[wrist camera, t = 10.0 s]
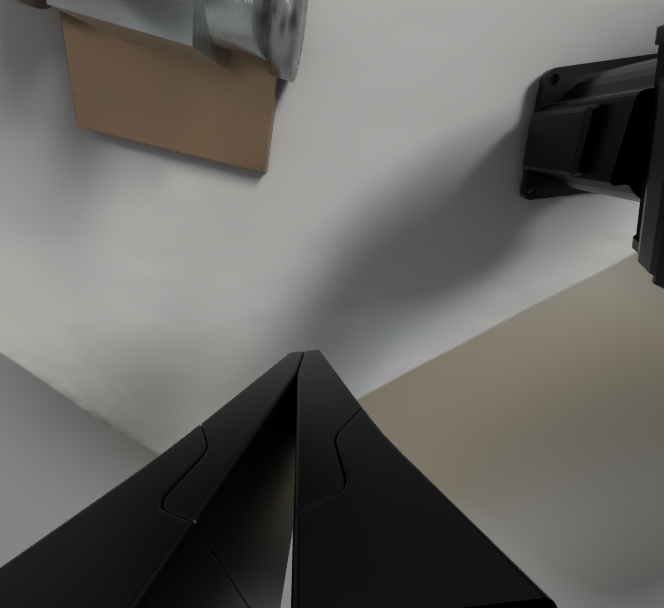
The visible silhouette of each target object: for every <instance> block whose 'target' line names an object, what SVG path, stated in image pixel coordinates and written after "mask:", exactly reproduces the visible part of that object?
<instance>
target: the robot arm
mask: <svg viewBox="0 0 664 608" xmlns="http://www.w3.org/2000/svg"><path fill="white" fill-rule="evenodd" d="M655 45H659V48H658V53H657V54H650V55H643V56H636V57H629V58H622V59H615V60H607V61H600V62H593V63H586V64H579V65H572V66H565V67H558V68H554V69H551V70H548V71H546V72H545V73H544V74H543V76H542V77H541V79H540V82H539V88H538V94H537V99H536V105H535V111H534V115H533V116H532V118H531V121H530V127H529V133H528V138H527V144H526V150H525V156H524V162H523V166H524V173H523V178H522V184H521V190H520V195H521V197H523V198H524V199H528V200H533V199H541V198H549V197H557V196H566V195H574V194H582V193H590V192H594V193H599V194H604V195H609V196H614V197H618V198H623V199H628V200H633V201H638V202H640V208H639V216H638V224H637V233H636V235H635V236H633V242H632V248H633V249H634V250H635V251H637V252H638V262H639V263H640V264H641V265H642V266H643V267H644V268H645V269H646V270H647V271H648V272H649V273H650V274H652V275H653V279H652V282H653V283H654V284H655V285H657V286H659V287H661V288H663V289H664V24H663V25H661V26H658V27H657V32H656V41H655ZM552 75H553V77H554V82H553V84H552V85H550V84H549V79H550V77H551V76H552ZM531 187H533V190H532V192H531V193H530V194H528V191H529V189H530V188H531ZM201 426H202V427H201ZM201 426H200V425H199V426H197V427H196V428H195V429H194V430H192V431H191V432H190V433H189V434H187V435H186V436H185V437H183V438H182V439H181V440H180V441H178V442H177V443H176V444H174V445H173V446H172V447H170V448H169V449H168V450H167V451H165V452H164V453H163V454H161V455H160V456H159V457H157V458H156V459H155V460H153V461H152V462H150V463H149V464H147V465H146V466H145V467H143V468H142V469H140V470H139V471H138V472H136V473H135V474H134V475H132V476H131V477H129V478H128V479H126V480H125V481H124V482H122V483H121V484H119V485H118V486H116V487H115V488H114V489H112V490H111V491H109V492H108V493H106V494H105V495H104V496H102V497H101V498H99V499H98V500H96V501H95V502H94V503H92V504H91V505H89V506H88V507H86V508H85V509H84V510H82V511H81V512H79V513H78V514H76V515H75V516H74V517H72V518H71V519H69V520H68V521H67V522H65V523H64V524H62V525H61V526H59V527H58V528H56V529H55V530H54V531H52V532H51V533H49V534H48V535H46V536H45V537H44V538H42V539H41V540H39V541H38V542H36V543H35V544H34V545H32V546H31V547H29V548H28V549H26V550H25V551H24V552H22V553H21V554H19V555H18V556H16V557H15V558H14V559H12V560H11V561H9V562H8V563H6V564H5V565H4V566H2V567H1V568H0V608H280V606H281V599H282V594H283V587H284V581H285V575H286V568H287V562H288V556H289V549H290V543H291V537H292V531H293V552H292V591H291V592H292V594H291V608H557V606H556V604H555V603H554V601H553V600H552V599H551V598H550V597H548V595H547V594H546V593H545V592H544V591H543V590H542V589H540V587H538V586H537V585H536V584H535V583H534V582H533V581H532V580H531V579H530V578H529V577H528V576H527V575H526V574H525V573H524V572H523V571H522V570H521V569H520V568H519V567H518V566H517V565H516V564H515V563H514V562H513V561H512V560H511V559H510V558H509V557H508V556H507V555H506V554H505V553H504V552H503V551H502V550H500V549H499V547H498V546H496V545H495V544H494V543H493V542H492V541H491V540H490V539H489V538H488V537H487V536H486V535H485V534H484V533H483V532H482V531H481V530H480V529H479V528H478V527H477V526H476V525H475V524H474V523H473V522H472V521H471V520H470V519H469V518H468V517H467V516H466V515H465V514H464V513H463V512H462V511H461V510H460V509H459V508H458V507H457V506H456V505H454V504H453V503H452V502H451V501H450V500H449V499H448V498H447V497H446V496H445V495H444V494H443V493H442V492H441V491H440V490H439V489H438V488H437V487H436V486H435V485H434V484H433V483H432V482H431V481H430V480H429V479H428V478H427V477H426V476H425V475H424V474H423V473H422V472H421V471H420V470H419V469H418V468H417V467H416V466H415V465H413V463H411V462H410V461H409V460H408V459H407V458H406V457H405V456H404V455H403V454H402V453H401V452H400V451H399V450H398V449H397V448H396V447H395V446H394V445H393V443H392V442H391V441H390V440H389V439H388V438H387V437H386V436H385V435H384V434H383V433H382V432H381V430H380V429H379V428H378V427H377V426H376V424H375V423H374V422H373V421H372V419H371V418H370V417H369V415H368V414H367V413H366V411H365V410H363V408H362V407H361V406H360V404H359V403H358V401H357V400H356V399H355V397H354V396H353V395H352V393H351V392H350V391H349V389H348V388H347V387H346V385H345V384H344V383H343V381H342V380H341V379H340V377H339V376H338V375H337V373H336V372H335V371H334V369H333V368H332V367H331V365H330V364H329V363H328V361H327V360H326V359H325V357H324V356H323V355H322V353H321V352H320V351H319V350H311V351H306V352H305V353H304V352H292V353H289V354H288V355H287V356H286V357H284V358H283V359H282V360H281V361H279V362H278V363H277V364H276V365H274V366H273V367H272V368H271V369H269V370H268V371H267V372H266V373H264V374H263V375H262V376H261V377H259V378H258V379H257V380H256V381H254V382H253V383H252V384H251V385H249V386H248V387H247V388H246V389H244V390H243V391H242V392H241V393H239V394H238V395H237V396H236V397H234V398H233V399H232V400H231V401H229V402H228V403H227V404H226V405H224V406H223V407H222V408H221V409H219V410H218V411H217V412H216V413H214V414H213V415H212V416H211V417H209V418H208V419H207V420H206V421H204V422H203V423H202V425H201Z"/></svg>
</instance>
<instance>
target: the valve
mask: <svg viewBox="0 0 664 608" xmlns="http://www.w3.org/2000/svg"><path fill="white" fill-rule="evenodd" d="M11 1H14V2H17V3H21V4H24V5H28V6H31V7H35V8H39V9H47V8H50V7H51V6H52V7H54V8H56V9H58V10H60V13H61V20H62V27H63V33H64V40H65V47H66V54H67V60H68V67H69V74H70V81H71V87H72V94H73V101H74V108H75V114H76V121H77V127H81V128H85V129H89V130H93V131H97V132H101V133H105V134H109V135H113V136H118V137H122V138H126V139H130V140H134V141H138V142H142V143H146V144H150V145H154V146H158V147H162V148H166V149H170V150H174V151H178V152H182V153H186V154H190V155H194V156H198V157H202V158H206V159H210V160H215V161H219V162H223V163H227V164H231V165H235V166H239V167H243V168H247V169H251V170H255V171H259V172H263V173H266V172H267V170H268V162H269V154H270V145H271V137H272V129H273V121H274V112H275V104H276V96H277V88H278V79H279V78H281V79H284V80H288V81H291V82H294V80H295V77H296V74H297V70H298V66H299V61H300V56H301V50H302V44H303V38H304V31H305V23H306V14H307V5H308V0H11Z"/></svg>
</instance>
